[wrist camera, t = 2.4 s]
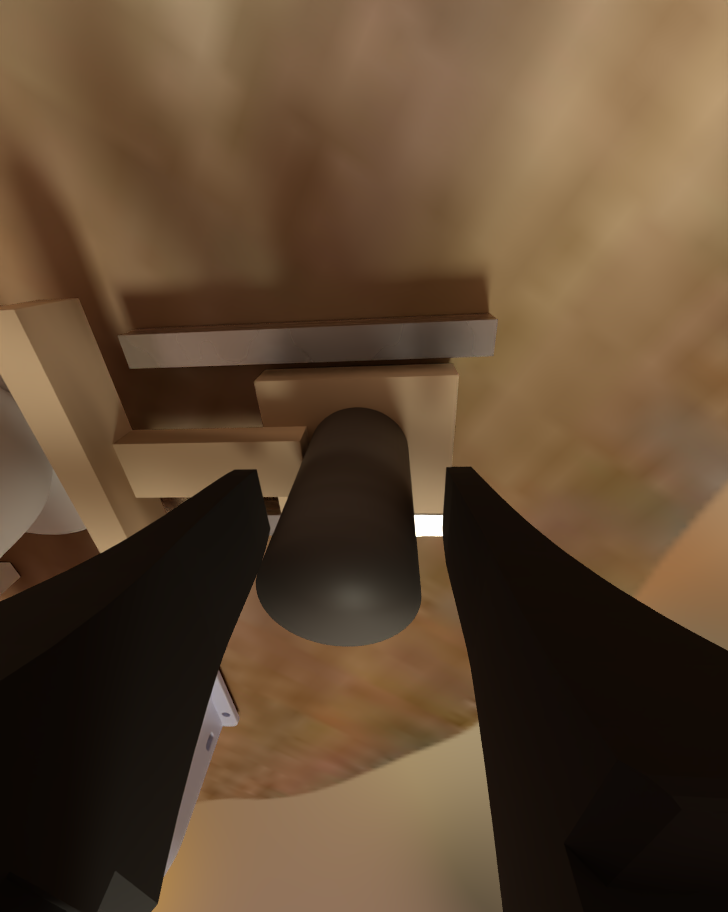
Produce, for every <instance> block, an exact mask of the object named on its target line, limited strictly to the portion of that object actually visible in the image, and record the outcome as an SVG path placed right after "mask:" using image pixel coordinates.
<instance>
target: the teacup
mask: <svg viewBox="0 0 728 912" xmlns="http://www.w3.org/2000/svg"><path fill="white" fill-rule="evenodd" d="M85 529H86V527H85V525H84V523H83V521H82V520H81V518H80V516H79V514H78V512H77V511H76V509H75V507H74V505H73V503H72V502H71V500H70V498H69V496H68V494H67V493H66V491H65V489H64V487H63V486H62V484H61V482H60V480H59V478H58V477H57V475H56V473H55V471H54V469H53V468H52V466H51V464H50V462H49V460H48V459H47V457H46V455H45V453H44V451H43V450H42V448H41V446H40V444H39V443H38V441H37V439H36V437H35V435H34V434H33V432H32V430H31V428H30V426H29V425H28V423H27V421H26V419H25V417H24V416H23V414H22V412H21V410H20V408H19V407H18V405H17V403H16V401H15V400H14V398H13V396H12V394H11V392H10V391H9V389H8V387H7V385H6V383H5V382H4V380H3V378H2V376H1V374H0V558H1V557H2V556H3V555H4V554H5V553H6V552H7V551H8V550H9V549H10V548H11V547H12V546H13V545H14V544H15V543H16V542H17V541H18V540H19V539H20V538H21V536H22V535H23V534H24V533H25V532H27V533H34V534H44V535H60V534H68V533H74V532H79V531H82V530H85Z"/></svg>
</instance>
